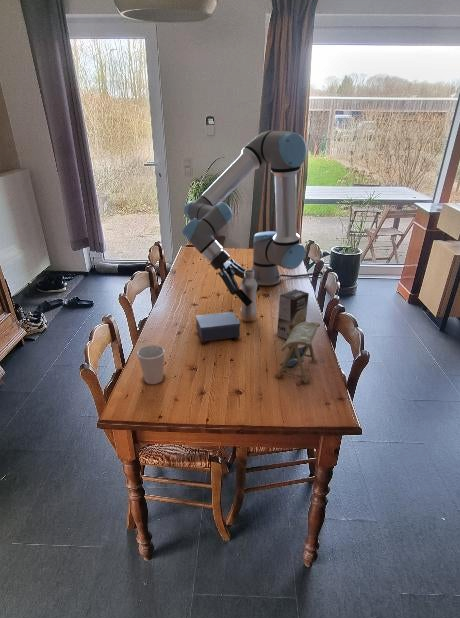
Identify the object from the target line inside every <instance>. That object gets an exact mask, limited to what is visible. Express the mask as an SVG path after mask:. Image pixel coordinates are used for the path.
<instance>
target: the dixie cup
mask: <svg viewBox="0 0 460 618" xmlns="http://www.w3.org/2000/svg"><path fill="white" fill-rule="evenodd" d="M165 353H166V351H165V348H164V347H162V346H160V345H157V344H149V345H145V346H141V347H140V348H139V349H138V350H137V351H136V355H137V357H138V360H139V365H140V368H141V372H142V375H143V379H144V382H145V383H146V384H148V385H155V384H159V383H161V382H162V381H163V380H164V362H165V361H164V360H165Z"/></svg>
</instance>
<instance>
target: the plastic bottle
mask: <svg viewBox="0 0 460 618" xmlns="http://www.w3.org/2000/svg"><path fill="white" fill-rule="evenodd" d="M239 285H240V286H239V288H240V289H241V290H242V291H243V292H244V293H245V294H246V295H247V296H248V297H249V298H250V300H251V301H252V303H251V304H250V305H249V306H246V305H245V304H244V303H243V302H242V301H241V303H240V304H241V305H240V310H239V316H240V319H241V320H242V321H244V322H253V321H255V320H256V319H257V315H258V312H257V303H256V299H257V298H256V297H257V292H256V291H257V282H256V280H255V279H254V271H253V270H251V269H246V270H245V271H244V279H242V280H241V281H240V284H239Z"/></svg>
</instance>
